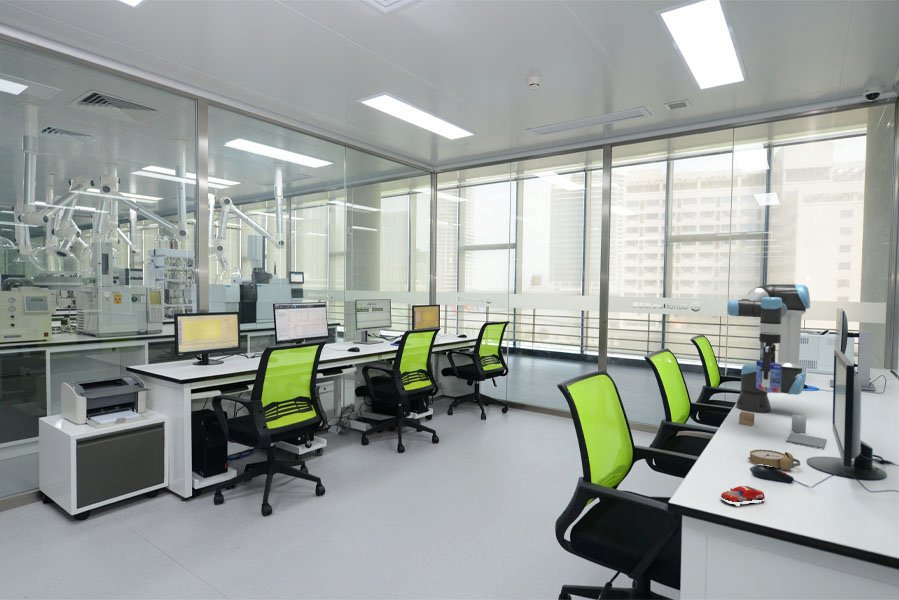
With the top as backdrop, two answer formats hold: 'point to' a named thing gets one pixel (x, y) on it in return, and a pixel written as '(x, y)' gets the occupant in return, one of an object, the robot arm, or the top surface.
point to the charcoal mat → (806, 440)
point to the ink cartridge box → (774, 377)
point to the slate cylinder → (799, 423)
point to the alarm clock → (773, 459)
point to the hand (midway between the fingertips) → (767, 384)
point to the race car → (743, 494)
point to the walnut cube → (746, 418)
